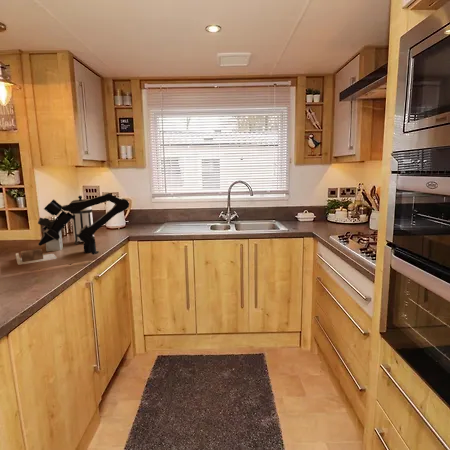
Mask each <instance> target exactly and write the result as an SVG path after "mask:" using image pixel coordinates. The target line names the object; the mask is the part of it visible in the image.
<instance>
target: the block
mask: <svg viewBox="0 0 450 450" xmlns="http://www.w3.org/2000/svg"><path fill="white" fill-rule="evenodd" d="M20 255H21V257H20V258H22V262H26V261H33V260H39V259H43V255H44V254H43V249H42V248H36V249H30V250H22V251H20Z"/></svg>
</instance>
